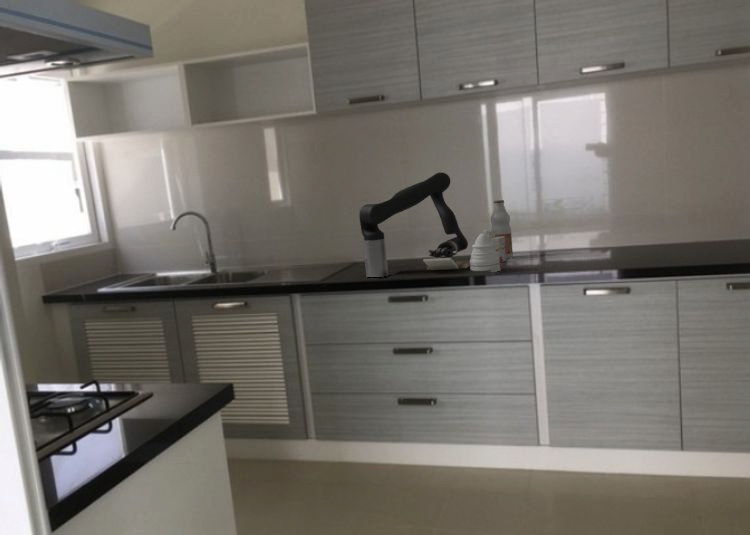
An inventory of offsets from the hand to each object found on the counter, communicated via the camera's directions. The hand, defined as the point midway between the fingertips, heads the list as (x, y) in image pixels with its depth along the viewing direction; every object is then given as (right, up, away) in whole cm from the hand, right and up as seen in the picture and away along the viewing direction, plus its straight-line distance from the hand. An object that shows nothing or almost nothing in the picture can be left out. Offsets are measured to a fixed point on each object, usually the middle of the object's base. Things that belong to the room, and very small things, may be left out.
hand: (437, 255), depth 278 cm
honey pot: (+21, -7, +4) cm, 23 cm away
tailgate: (+5, -6, +12) cm, 14 cm away
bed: (+7, -6, +18) cm, 21 cm away
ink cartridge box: (+31, -3, +27) cm, 41 cm away
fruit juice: (+36, -1, +38) cm, 52 cm away
